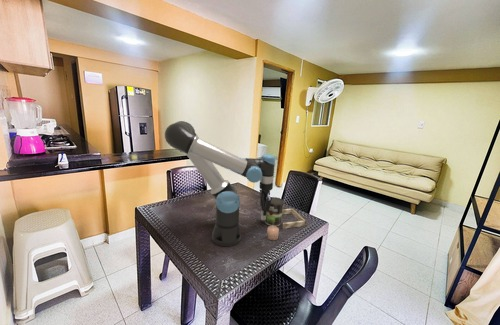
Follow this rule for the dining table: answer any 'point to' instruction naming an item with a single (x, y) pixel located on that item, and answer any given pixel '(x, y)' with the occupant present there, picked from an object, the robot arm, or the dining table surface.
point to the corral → (297, 223)
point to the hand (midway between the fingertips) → (263, 219)
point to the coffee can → (275, 212)
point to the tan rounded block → (272, 232)
